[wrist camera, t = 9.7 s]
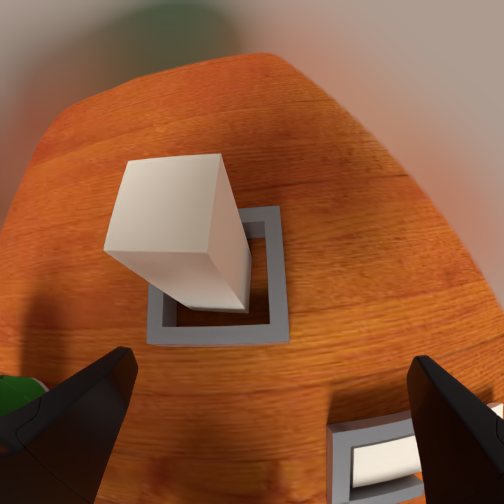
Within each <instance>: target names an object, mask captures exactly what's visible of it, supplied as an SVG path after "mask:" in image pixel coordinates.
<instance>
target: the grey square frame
mask: <svg viewBox="0 0 504 504" xmlns="http://www.w3.org/2000/svg"><path fill="white" fill-rule="evenodd" d="M238 213H239V216H240V219H241V223H242V226H243V229H244V233H245V236H246V239H251V238H266V255H267V273H268V292H269V311H270V324H262V325H241V326H211V327H176V324H177V300H175V299H174V298H172V297H171V296H169V295H168V294H166V293H164V292H163V291H161V290H160V289H158V288H157V287H155V286H154V285H152V284H151V283H149V290H148V311H147V344H152V345H158V346H165V347H231V346H259V345H277V344H289V323H288V307H287V292H286V278H285V264H284V252H283V239H282V227H281V216H280V205H279V206H266V207H253V208H241V209H238Z"/></svg>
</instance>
